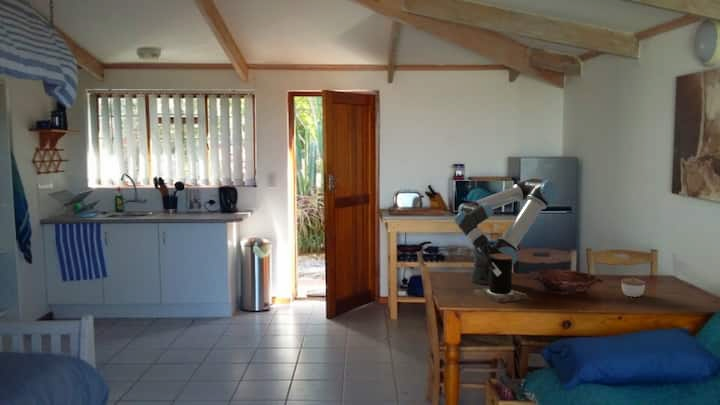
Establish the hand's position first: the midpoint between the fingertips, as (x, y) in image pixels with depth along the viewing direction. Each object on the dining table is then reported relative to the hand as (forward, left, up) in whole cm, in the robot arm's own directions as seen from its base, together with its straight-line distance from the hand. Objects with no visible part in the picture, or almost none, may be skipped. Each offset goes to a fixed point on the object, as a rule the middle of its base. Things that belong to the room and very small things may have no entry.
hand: (505, 272), depth 286 cm
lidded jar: (-60, +26, -12) cm, 66 cm away
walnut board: (+1, -2, -12) cm, 12 cm away
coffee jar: (+1, -2, -10) cm, 10 cm away
